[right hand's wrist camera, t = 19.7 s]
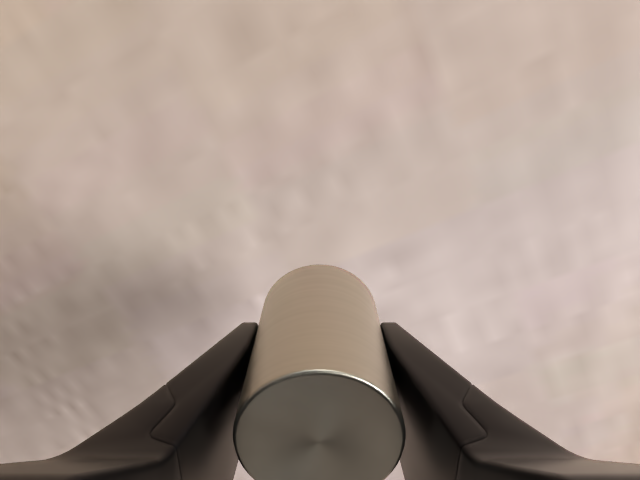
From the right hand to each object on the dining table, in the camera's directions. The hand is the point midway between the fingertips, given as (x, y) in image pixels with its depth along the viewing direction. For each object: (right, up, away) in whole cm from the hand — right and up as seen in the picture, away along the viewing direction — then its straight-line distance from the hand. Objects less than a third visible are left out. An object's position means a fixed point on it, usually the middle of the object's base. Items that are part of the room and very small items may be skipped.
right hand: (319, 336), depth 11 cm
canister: (0, 0, +1) cm, 1 cm away
